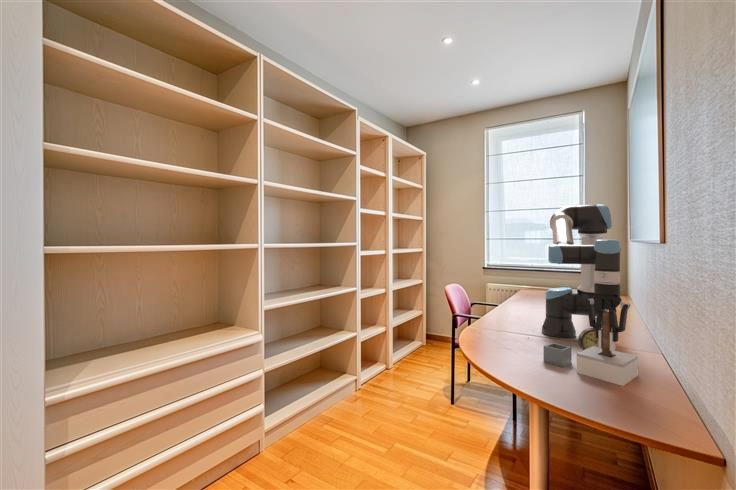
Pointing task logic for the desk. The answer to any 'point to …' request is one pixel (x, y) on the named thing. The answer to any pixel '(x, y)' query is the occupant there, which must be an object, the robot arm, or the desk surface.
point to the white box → (607, 365)
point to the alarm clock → (588, 338)
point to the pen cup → (557, 354)
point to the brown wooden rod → (606, 334)
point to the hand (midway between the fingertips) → (606, 349)
